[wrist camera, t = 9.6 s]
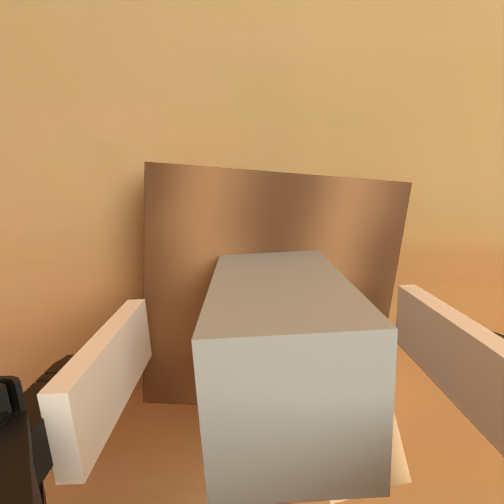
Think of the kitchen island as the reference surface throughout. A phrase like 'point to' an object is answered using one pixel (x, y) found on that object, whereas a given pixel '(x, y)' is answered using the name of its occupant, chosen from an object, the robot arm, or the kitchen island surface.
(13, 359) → the kitchen island surface
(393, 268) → the walnut block
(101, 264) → the kitchen island surface
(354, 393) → the pale gray block
